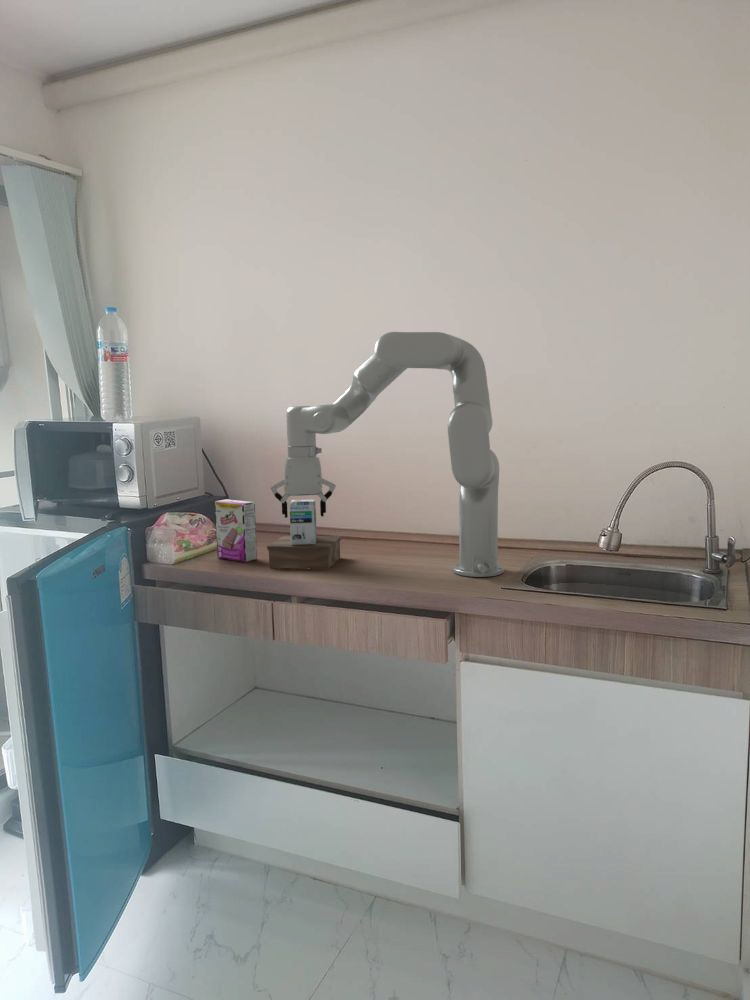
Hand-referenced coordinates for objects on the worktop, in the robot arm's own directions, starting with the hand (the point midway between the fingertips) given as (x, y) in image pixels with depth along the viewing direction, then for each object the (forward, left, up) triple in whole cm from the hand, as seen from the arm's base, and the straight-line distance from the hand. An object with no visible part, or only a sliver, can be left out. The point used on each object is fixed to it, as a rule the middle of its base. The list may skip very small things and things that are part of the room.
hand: (304, 516), depth 196 cm
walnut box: (0, 0, -13) cm, 13 cm away
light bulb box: (0, 0, -7) cm, 7 cm away
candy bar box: (+9, +19, -13) cm, 25 cm away
